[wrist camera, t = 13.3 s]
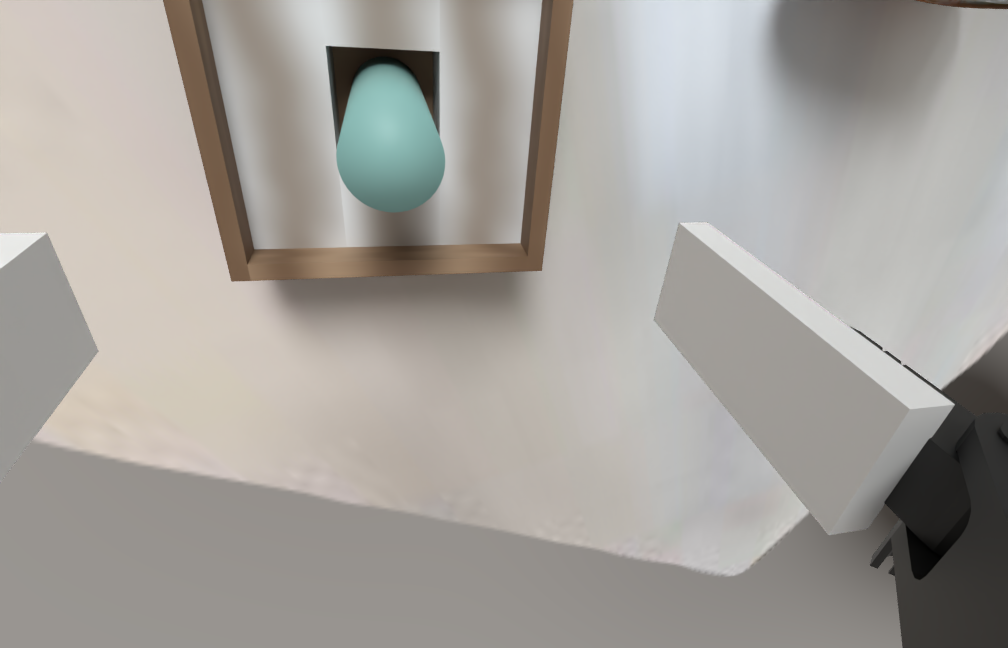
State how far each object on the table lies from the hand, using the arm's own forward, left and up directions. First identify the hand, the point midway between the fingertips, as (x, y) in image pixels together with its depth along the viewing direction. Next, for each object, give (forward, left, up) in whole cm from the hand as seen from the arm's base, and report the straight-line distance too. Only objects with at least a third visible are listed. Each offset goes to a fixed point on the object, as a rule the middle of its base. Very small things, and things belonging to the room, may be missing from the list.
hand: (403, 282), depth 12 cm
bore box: (0, 0, -25) cm, 25 cm away
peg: (0, 0, -24) cm, 24 cm away
